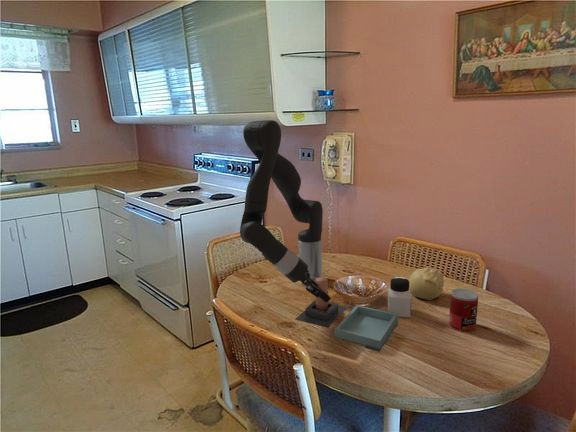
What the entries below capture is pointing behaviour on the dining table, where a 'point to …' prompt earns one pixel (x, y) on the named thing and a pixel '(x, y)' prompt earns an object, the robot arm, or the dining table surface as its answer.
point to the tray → (367, 327)
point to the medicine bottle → (399, 297)
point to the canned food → (463, 309)
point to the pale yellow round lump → (426, 283)
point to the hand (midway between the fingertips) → (327, 297)
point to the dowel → (324, 286)
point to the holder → (321, 314)
